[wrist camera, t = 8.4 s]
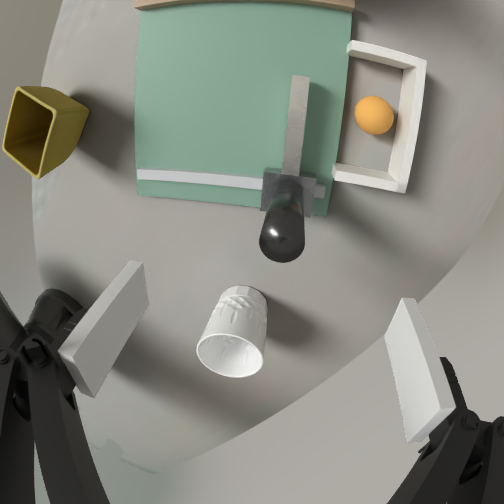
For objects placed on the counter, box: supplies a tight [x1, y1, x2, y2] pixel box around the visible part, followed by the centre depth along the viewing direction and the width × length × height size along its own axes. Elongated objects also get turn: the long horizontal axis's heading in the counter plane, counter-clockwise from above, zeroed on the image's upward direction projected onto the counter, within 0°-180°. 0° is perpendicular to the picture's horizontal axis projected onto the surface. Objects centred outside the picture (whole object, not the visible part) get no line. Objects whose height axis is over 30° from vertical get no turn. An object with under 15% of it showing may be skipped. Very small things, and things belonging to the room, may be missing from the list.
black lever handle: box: [259, 75, 316, 263], centre depth 23 cm, size 5×14×12 cm, turn 176°
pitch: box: [134, 0, 355, 217], centre depth 27 cm, size 22×24×3 cm
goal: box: [332, 40, 427, 194], centre depth 25 cm, size 8×14×4 cm, turn 176°
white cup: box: [197, 285, 268, 378], centre depth 37 cm, size 8×8×10 cm
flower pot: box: [2, 86, 89, 179], centre depth 27 cm, size 9×9×9 cm
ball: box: [354, 96, 394, 135], centre depth 25 cm, size 4×4×4 cm
